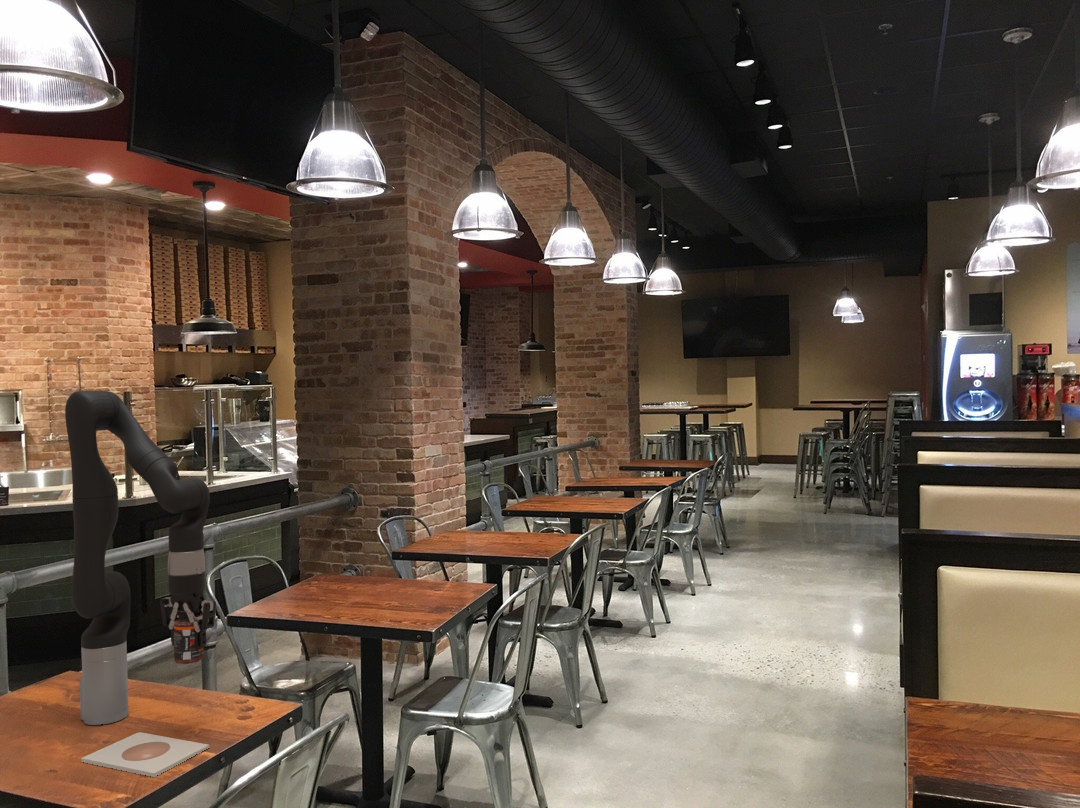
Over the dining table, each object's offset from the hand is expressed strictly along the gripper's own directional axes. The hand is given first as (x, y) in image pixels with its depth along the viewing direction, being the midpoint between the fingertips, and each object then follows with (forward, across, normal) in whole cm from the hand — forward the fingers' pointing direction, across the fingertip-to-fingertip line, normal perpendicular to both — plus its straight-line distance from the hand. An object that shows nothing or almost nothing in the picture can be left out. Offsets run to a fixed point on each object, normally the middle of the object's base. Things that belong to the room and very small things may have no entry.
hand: (188, 646), depth 183 cm
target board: (+18, +1, -13) cm, 23 cm away
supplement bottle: (+3, 0, 0) cm, 3 cm away
